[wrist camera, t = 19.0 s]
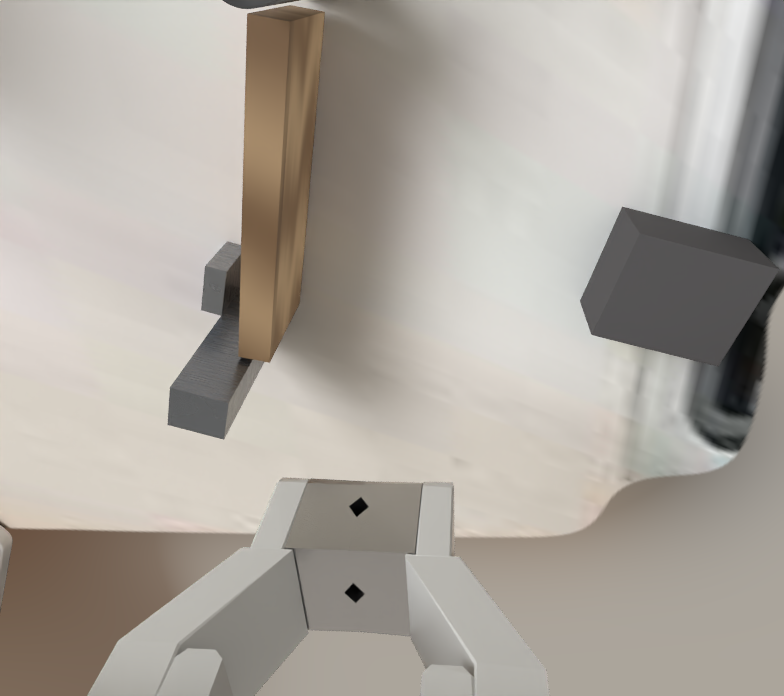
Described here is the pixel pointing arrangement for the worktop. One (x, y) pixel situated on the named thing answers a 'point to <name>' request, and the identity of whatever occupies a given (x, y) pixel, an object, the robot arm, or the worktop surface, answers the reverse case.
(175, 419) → the post
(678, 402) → the worktop surface
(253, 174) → the gate
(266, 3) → the hinge post
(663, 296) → the block
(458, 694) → the robot arm
